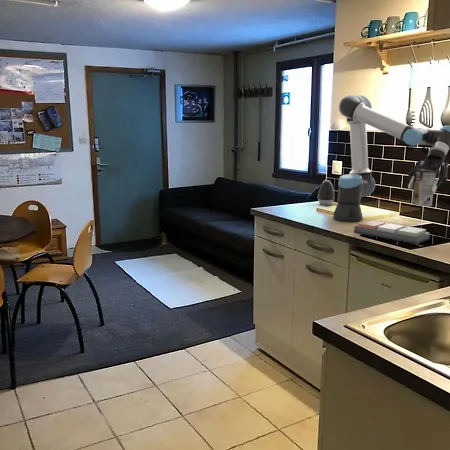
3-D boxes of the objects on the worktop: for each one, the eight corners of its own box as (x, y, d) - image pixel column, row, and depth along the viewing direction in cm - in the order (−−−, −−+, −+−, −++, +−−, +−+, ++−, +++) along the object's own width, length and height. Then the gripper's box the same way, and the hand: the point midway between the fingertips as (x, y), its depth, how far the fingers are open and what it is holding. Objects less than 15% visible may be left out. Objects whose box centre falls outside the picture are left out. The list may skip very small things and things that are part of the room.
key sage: (397, 235, 216) (398, 230, 216) (408, 231, 224) (408, 226, 224) (415, 238, 211) (415, 233, 210) (425, 234, 219) (426, 229, 218)
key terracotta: (358, 227, 229) (358, 223, 229) (369, 224, 237) (369, 220, 236) (374, 230, 224) (374, 226, 223) (385, 227, 232) (385, 222, 231)
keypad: (353, 232, 230) (354, 226, 229) (367, 228, 239) (368, 222, 239) (416, 244, 210) (417, 237, 209) (429, 239, 219) (429, 232, 219)
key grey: (377, 231, 223) (377, 226, 222) (388, 227, 231) (388, 223, 230) (394, 234, 217) (394, 229, 217) (404, 230, 225) (405, 225, 225)
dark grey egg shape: (317, 205, 300) (318, 180, 297) (317, 202, 310) (318, 178, 307) (334, 206, 298) (335, 181, 295) (333, 203, 308) (335, 179, 305)
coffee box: (411, 202, 233) (415, 168, 229) (425, 202, 233) (429, 168, 229) (418, 205, 224) (422, 170, 220) (432, 206, 224) (436, 171, 220)
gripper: (464, 161, 227) (448, 198, 219) (415, 157, 242) (398, 191, 235) (461, 149, 222) (445, 187, 214) (412, 146, 237) (395, 181, 230)
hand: (420, 189), depth 224 cm, fingers closed on coffee box, 10 cm apart
